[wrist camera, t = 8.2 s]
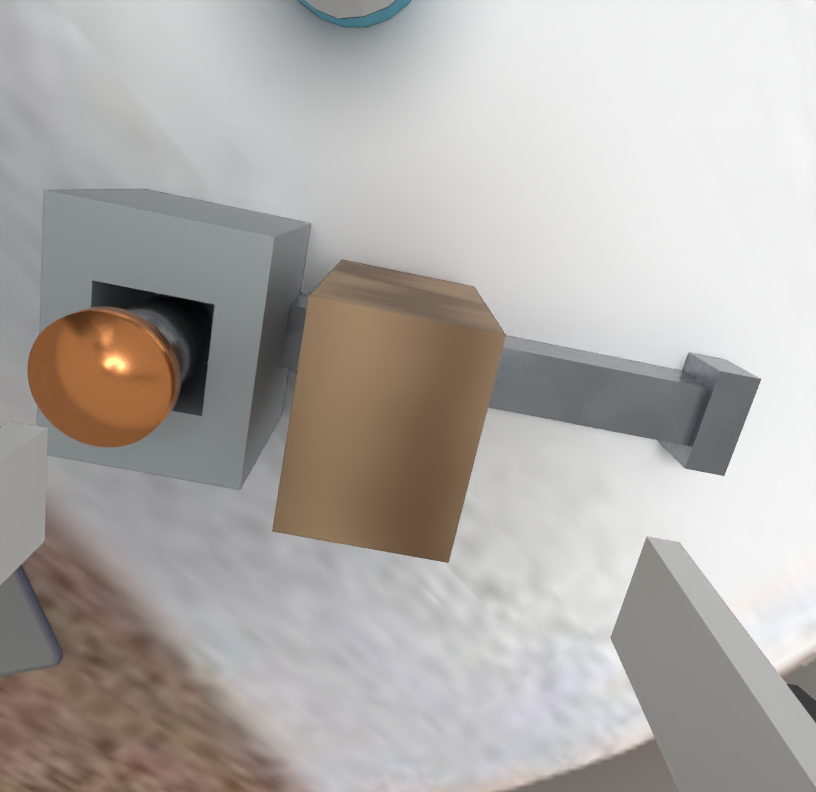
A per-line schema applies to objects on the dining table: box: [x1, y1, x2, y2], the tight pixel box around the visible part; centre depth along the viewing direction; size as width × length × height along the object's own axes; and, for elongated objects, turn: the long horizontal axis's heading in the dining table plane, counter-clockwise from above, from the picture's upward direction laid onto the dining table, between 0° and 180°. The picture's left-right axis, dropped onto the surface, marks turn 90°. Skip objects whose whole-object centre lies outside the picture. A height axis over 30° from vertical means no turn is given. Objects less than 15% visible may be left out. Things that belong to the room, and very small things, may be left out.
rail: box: [281, 294, 761, 476], centre depth 32 cm, size 22×5×4 cm, turn 79°
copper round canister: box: [28, 294, 213, 447], centre depth 24 cm, size 4×4×7 cm
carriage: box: [272, 260, 506, 563], centre depth 27 cm, size 6×8×13 cm
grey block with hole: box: [37, 189, 311, 490], centre depth 29 cm, size 8×10×9 cm
